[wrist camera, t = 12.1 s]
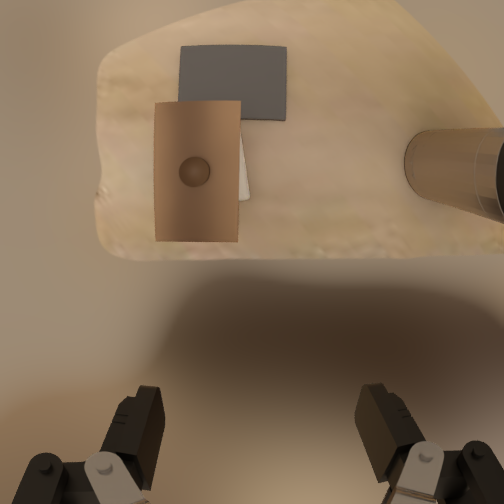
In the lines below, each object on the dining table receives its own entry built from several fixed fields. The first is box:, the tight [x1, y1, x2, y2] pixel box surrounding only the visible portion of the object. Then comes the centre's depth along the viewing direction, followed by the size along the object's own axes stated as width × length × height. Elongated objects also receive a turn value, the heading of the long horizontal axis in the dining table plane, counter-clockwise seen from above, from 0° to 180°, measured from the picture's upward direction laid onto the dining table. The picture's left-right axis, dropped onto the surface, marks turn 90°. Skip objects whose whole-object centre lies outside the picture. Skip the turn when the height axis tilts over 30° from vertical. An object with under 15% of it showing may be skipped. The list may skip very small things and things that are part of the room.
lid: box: [154, 101, 241, 242], centre depth 23 cm, size 6×10×4 cm, turn 178°
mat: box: [178, 45, 287, 121], centre depth 33 cm, size 12×9×1 cm
